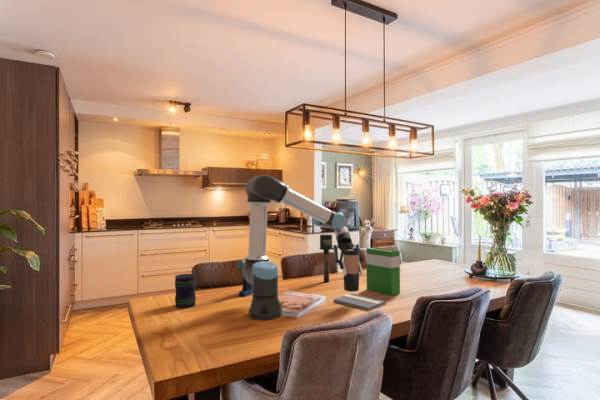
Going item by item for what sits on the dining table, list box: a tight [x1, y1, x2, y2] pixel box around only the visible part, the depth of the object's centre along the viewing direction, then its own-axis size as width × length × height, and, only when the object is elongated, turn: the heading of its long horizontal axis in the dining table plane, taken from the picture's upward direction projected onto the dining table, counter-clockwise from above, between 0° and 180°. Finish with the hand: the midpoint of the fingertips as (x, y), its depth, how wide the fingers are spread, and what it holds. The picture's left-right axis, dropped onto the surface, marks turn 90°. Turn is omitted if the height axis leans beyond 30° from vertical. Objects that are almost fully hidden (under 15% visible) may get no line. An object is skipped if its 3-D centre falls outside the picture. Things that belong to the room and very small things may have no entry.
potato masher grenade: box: [319, 233, 333, 283], centre depth 225 cm, size 8×9×30 cm
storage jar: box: [174, 273, 197, 310], centre depth 176 cm, size 10×10×15 cm
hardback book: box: [365, 246, 401, 297], centre depth 200 cm, size 18×7×24 cm, turn 38°
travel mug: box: [342, 247, 360, 292], centre depth 173 cm, size 8×8×20 cm
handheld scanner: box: [236, 259, 253, 297], centre depth 198 cm, size 5×16×20 cm, turn 152°
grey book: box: [333, 293, 386, 312], centre depth 178 cm, size 15×21×2 cm
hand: (353, 273), depth 170 cm, fingers closed on travel mug, 7 cm apart
